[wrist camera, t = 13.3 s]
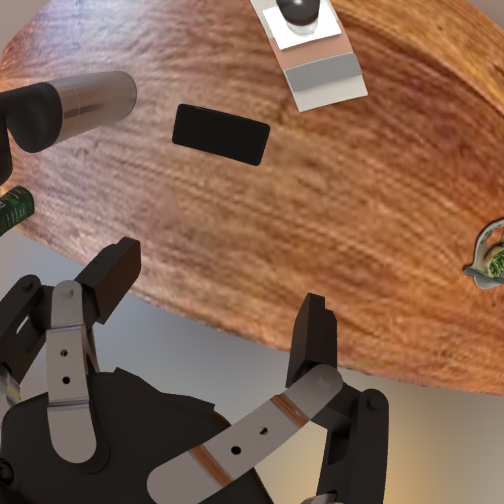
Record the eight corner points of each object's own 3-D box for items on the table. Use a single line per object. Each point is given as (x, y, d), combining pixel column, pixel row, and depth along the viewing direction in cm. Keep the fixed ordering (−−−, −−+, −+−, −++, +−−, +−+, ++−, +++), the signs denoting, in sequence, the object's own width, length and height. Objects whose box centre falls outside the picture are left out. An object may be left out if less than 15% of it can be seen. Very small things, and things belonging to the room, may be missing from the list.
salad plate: (457, 296, 49) (463, 311, 45) (462, 223, 40) (472, 236, 37) (521, 277, 42) (529, 290, 38) (533, 207, 34) (545, 218, 30)
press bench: (233, -31, 25) (221, -45, 20) (297, -51, 21) (295, -68, 17) (299, 111, 37) (297, 115, 32) (366, 94, 33) (374, 96, 29)
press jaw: (265, 15, 28) (244, -12, 17) (321, 0, 25) (325, -35, 14) (282, 51, 31) (269, 37, 20) (339, 36, 28) (351, 15, 17)
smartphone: (177, 103, 39) (271, 125, 39) (180, 102, 40) (271, 125, 40) (170, 143, 43) (258, 167, 43) (172, 142, 44) (259, 166, 43)
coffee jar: (33, 191, 55) (-18, 228, 40) (36, 216, 60) (-11, 255, 45) (14, 181, 55) (-35, 214, 40) (17, 205, 59) (-28, 240, 44)
